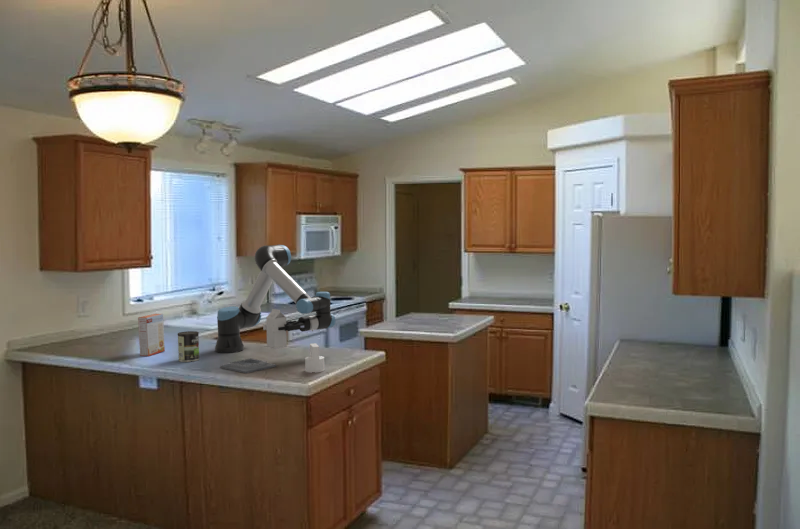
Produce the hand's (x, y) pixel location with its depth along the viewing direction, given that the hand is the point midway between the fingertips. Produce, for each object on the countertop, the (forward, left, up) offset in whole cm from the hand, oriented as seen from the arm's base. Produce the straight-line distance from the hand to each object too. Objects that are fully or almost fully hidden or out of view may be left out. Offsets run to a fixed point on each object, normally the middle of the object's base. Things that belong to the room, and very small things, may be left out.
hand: (267, 328), depth 327 cm
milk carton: (+1, +5, -10) cm, 11 cm away
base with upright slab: (+30, +4, -18) cm, 35 cm away
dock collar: (-1, -11, -18) cm, 21 cm away
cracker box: (-71, -22, -18) cm, 77 cm away
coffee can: (-40, -19, -18) cm, 48 cm away
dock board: (-1, -11, -18) cm, 21 cm away
